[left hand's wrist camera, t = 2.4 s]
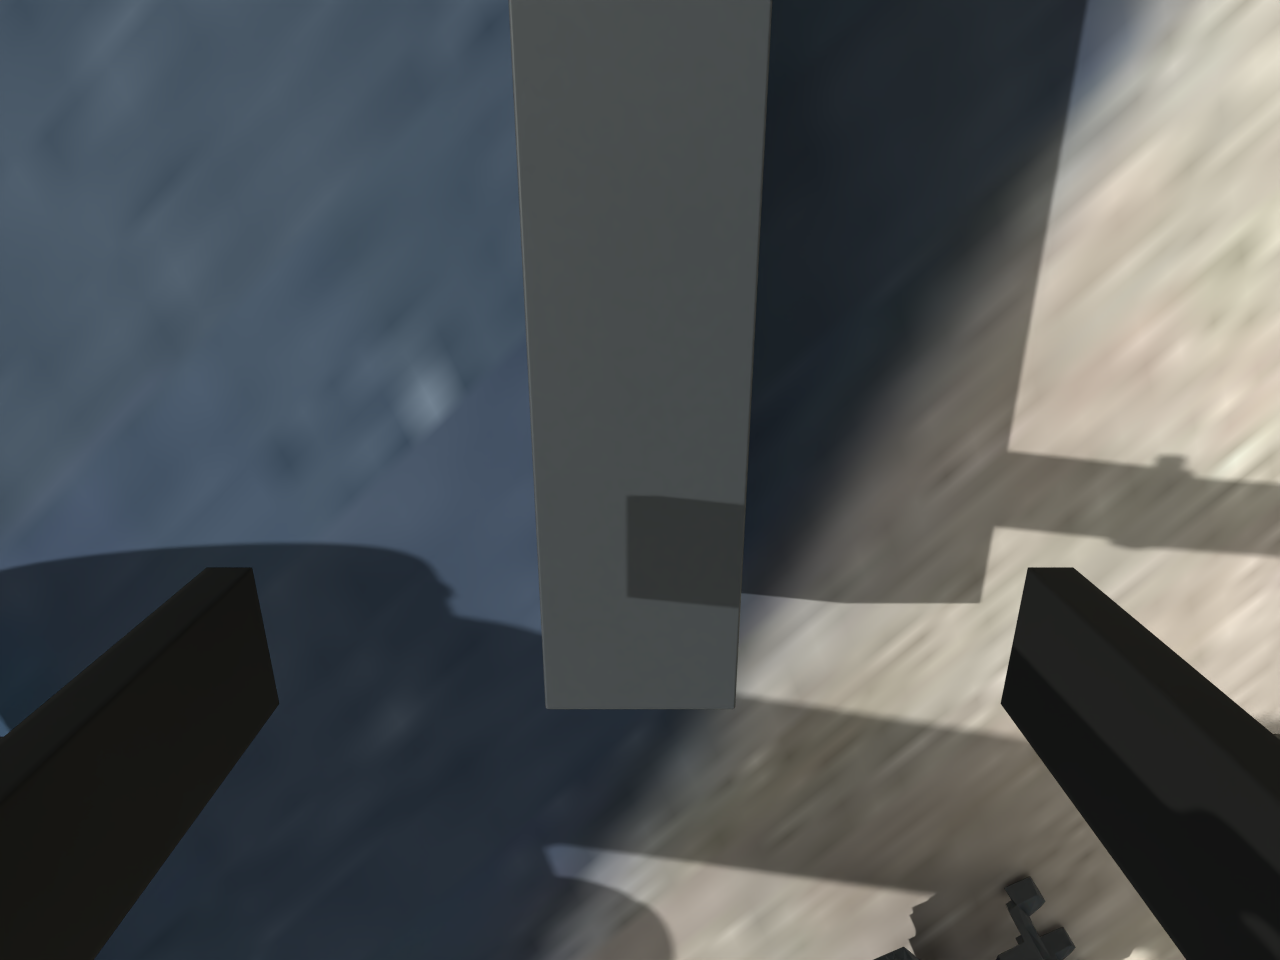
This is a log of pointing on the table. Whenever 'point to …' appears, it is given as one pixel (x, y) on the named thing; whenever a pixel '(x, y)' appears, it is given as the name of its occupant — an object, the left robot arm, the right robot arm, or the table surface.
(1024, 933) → the toy
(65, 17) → the table surface
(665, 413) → the post
